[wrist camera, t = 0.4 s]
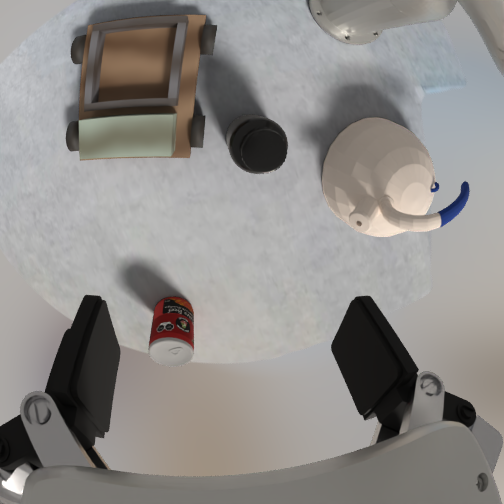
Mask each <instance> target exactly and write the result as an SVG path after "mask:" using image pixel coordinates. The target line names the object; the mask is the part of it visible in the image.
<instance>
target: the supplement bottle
mask: <svg viewBox="0 0 504 504" xmlns="http://www.w3.org/2000/svg"><path fill="white" fill-rule="evenodd" d="M226 142H227V146H228V149H229V152H230V155H231V157H232V159H233V161H234V162H235V164H236V165H237V166H238V167H240V168H241V169H242V170H244V171H246V172H249V173H254V174H264V173H269V172H273V171H276V170H277V169H278V168H280V166H281V165H282V164H283V162H284V161H285V158H286V154H287V149H288V142H287V137H286V134H285V132H284V131H283V129H282V128H281V127H280V126H279V125H278V124H277V123H276V122H274V121H272V120H270V119H268V118H265V117H262V116H259V115H254V114H247V115H243V116H240V117H238V118H237V119H235V120H234V121H233V122H232V123H231V124H230V126H229V128H228V130H227V133H226Z"/></svg>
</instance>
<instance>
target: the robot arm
mask: <svg viewBox="0 0 504 504" xmlns="http://www.w3.org/2000/svg"><path fill="white" fill-rule="evenodd" d="M457 1H458V2H459V3H460V5H461V6H462V7H463V9H464V10H465V12H466V13H467V14H468V15H469V17H470V19H471V20H472V22H473V23H474V25H475V27H476V28H477V30H478V32H479V34H480V35H481V37H482V39H483V41H484V43H485V45H486V47H487V49H488V51H489V53H490V54H491V57H492V59H493V60H494V62H495V64H496V66H497V68H498V69H499V71H500V72H501V74H502V75H503V76H504V0H309V6H310V10H311V13H312V15H313V17H314V19H315V21H316V22H317V23H318V24H319V26H320V27H321V28H322V29H323V30H324V31H325V32H326V33H328V34H329V35H331V36H332V37H334V38H335V39H337V40H339V41H342V42H344V43H348V44H352V45H362V44H367V43H371V42H373V41H374V40H376V39H377V38H378V37H379V36H380V35H381V33H382V31H383V30H386V29H390V28H395V27H401V26H406V25H412V24H419V23H426V22H433V21H438V20H441V19H444V18H445V17H447V16H448V15H449V14H450V13H451V12H452V10H453V9H454V7H455V5H456V2H457ZM318 14H319V15H318ZM345 38H346V39H345ZM331 349H332V353H333V355H334V357H335V360H336V361H337V364H338V366H339V368H340V371H341V373H342V375H343V378H344V379H345V382H346V384H347V386H348V389H349V391H350V394H351V396H352V398H353V401H354V403H355V405H356V408H357V410H358V412H359V414H360V415H363V417H364V420H368V419H370V418H374V417H376V416H377V418H378V423H377V426H376V429H375V433H374V435H373V439H372V441H371V444H370V446H369V447H366V448H363V449H360V450H357V451H354V452H351V453H348V454H344V455H341V456H338V457H334V458H330V459H326V460H322V461H318V462H315V463H310V464H306V465H301V466H296V467H291V468H285V469H280V470H273V471H267V472H259V473H251V474H240V475H228V476H205V477H204V476H203V477H186V476H163V475H148V474H137V473H129V472H121V471H114V470H111V469H110V468H109V466H108V465H107V464H106V462H105V461H104V460H103V459H102V457H101V455H100V454H99V453H98V451H97V450H96V448H95V447H94V444H95V437H100V438H104V435H105V432H108V431H109V427H110V426H109V425H110V418H111V410H112V401H113V395H114V389H115V382H116V376H117V370H118V365H119V360H120V347H119V344H118V341H117V338H116V335H115V331H114V328H113V325H112V321H111V318H110V314H109V311H108V307H107V304H106V301H105V300H102V299H101V297H100V296H94V295H85V296H84V298H83V300H82V302H81V305H80V307H79V309H78V312H77V314H76V316H75V319H74V321H73V324H72V326H71V329H68V330H66V332H65V334H64V336H63V338H62V341H61V344H60V346H59V349H58V352H57V355H56V358H55V361H54V364H53V367H52V369H51V373H50V376H49V379H48V382H47V386H46V389H45V392H42V391H35V392H31V393H29V394H28V395H27V396H25V398H24V399H23V401H22V403H21V407H20V415H18V416H17V417H15V418H13V419H12V420H10V421H9V422H7V423H5V424H3V425H2V426H0V504H502V502H501V498H500V495H499V492H498V489H497V486H496V483H495V480H494V477H493V475H492V473H493V471H494V468H495V466H496V463H497V460H498V457H499V454H500V452H501V448H502V444H503V439H502V436H501V434H500V433H499V432H498V431H497V430H496V429H495V428H493V427H492V426H491V425H490V424H489V423H487V422H486V421H485V420H484V419H482V418H481V417H480V416H478V415H477V416H476V412H475V409H474V407H473V405H472V404H471V403H470V402H468V401H467V400H464V399H462V398H459V397H457V396H455V395H453V394H450V393H448V392H446V391H445V389H444V384H443V381H442V380H441V379H440V377H439V376H437V375H436V374H435V373H433V372H429V371H425V372H422V373H420V374H419V375H417V372H418V370H419V369H418V368H417V366H416V364H415V363H414V361H413V359H412V358H411V356H410V355H409V353H408V351H407V350H406V348H405V347H404V345H403V344H402V342H401V341H400V339H399V337H398V336H397V334H396V333H395V331H394V330H393V329H392V327H391V325H390V324H389V322H388V321H387V319H386V318H385V316H384V315H383V314H382V312H381V311H380V309H379V308H378V306H377V305H376V303H375V302H374V301H373V299H372V298H371V297H370V296H358V297H355V299H354V300H352V301H351V303H350V305H349V307H348V310H347V312H346V314H345V316H344V319H343V321H342V323H341V325H340V327H339V329H338V332H337V334H336V336H335V338H334V340H333V342H332V345H331Z"/></svg>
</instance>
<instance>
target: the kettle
mask: <svg viewBox="0 0 504 504" xmlns="http://www.w3.org/2000/svg"><path fill="white" fill-rule="evenodd" d="M435 181H436V180H435V173H434V167H433V163H432V160H431V157H430V155H429V153H428V150H427V149H426V148H425V147H424V145H423V144H422V143H421V142H420V140H419V139H418V138H417V137H416V136H415V134H414V133H412V132H411V131H409V130H408V129H406V128H405V127H403V126H401V125H399V124H396V123H394V122H392V121H390V120H387V119H383V118H379V117H373V118H364V119H361V120H359V121H357V122H354V123H352V124H350V125H349V126H348V127H347V128H345V129H344V130H343V131H342V132H341V133H339V135H338V136H337V137H336V139H335V140H334V142H333V143H332V145H331V146H330V148H329V150H328V153H327V156H326V158H325V161H324V165H323V173H322V184H323V193H324V196H325V198H326V201H327V203H328V206H329V207H330V209H331V210H332V211H333V212H334V214H335V215H336V216H337V217H338V218H340V219H341V220H343V221H344V222H345V223H347V224H348V225H349V226H351V227H352V228H353V229H355V230H356V231H358V232H361V233H364V234H367V235H372V236H376V237H389V236H393V235H396V234H399V233H402V232H405V231H407V230H408V231H414V232H419V231H430V230H433V229H436V228H439V227H442V226H443V225H445V224H447V223H448V222H449V221H451V220H452V219H453V218H454V217H455V216H457V215H458V214H459V213H460V211H461V210H462V209H463V208H464V206H465V204H466V202H467V200H468V196H469V184H468V182H463V184H462V185H461V193H460V195H459V197H458V198H457V199H456V200H455V201H454V202H453V203H452V204H450V205H449V206H448V207H446V208H445V209H443V210H441V211H439V212H437V213H434V214H430V215H425V214H426V212H427V211H428V209H429V207H430V205H431V202H432V200H433V195H434V192H436V191H438V189H439V184H438V183H437V182H435ZM435 186H436V188H435Z"/></svg>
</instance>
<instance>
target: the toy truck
mask: <svg viewBox="0 0 504 504" xmlns="http://www.w3.org/2000/svg"><path fill="white" fill-rule="evenodd" d="M205 21H206V15H160V16H146V17H136V18H127V19H120V20H114V21H108V22H102V23H97V24H92V25H88V30H87V35H83V36H79V37H76V38H75V39H74V41H73V43H72V46H71V58H72V61H73V63H74V64H81V63H82V72H81V84H80V100H79V121H73V122H71V123H70V124H69V126H68V128H67V132H66V144H67V147H68V149H69V150H70V151H79V154H80V160H93V159H111V158H147V157H169V158H190V153H191V147H198V148H203V138H204V127H205V116H200V115H193V114H194V104H195V94H196V85H197V76H198V68H199V61H200V54H202V55H213V50H214V43H215V37H216V30H217V25H205Z"/></svg>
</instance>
